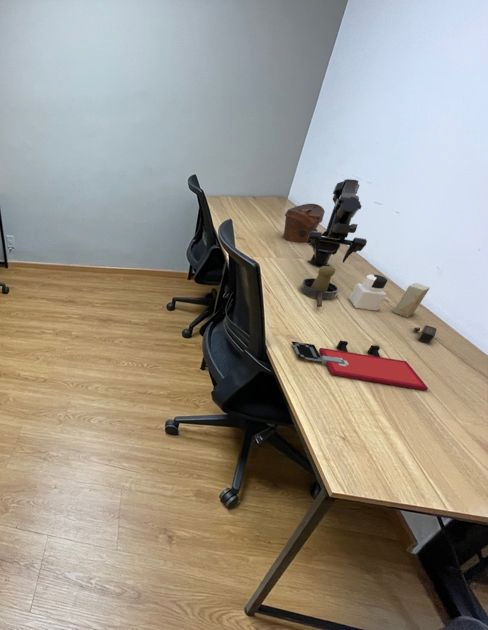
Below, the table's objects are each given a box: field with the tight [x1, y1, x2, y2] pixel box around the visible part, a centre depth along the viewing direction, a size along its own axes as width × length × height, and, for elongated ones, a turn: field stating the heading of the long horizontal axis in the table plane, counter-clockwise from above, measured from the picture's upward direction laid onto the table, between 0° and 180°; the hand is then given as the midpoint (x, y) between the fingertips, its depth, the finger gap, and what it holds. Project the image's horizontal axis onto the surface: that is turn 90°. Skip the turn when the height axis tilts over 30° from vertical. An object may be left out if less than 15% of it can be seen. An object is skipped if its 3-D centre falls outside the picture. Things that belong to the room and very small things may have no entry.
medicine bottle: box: [349, 273, 388, 312], centre depth 126 cm, size 7×7×12 cm
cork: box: [310, 265, 336, 292], centre depth 135 cm, size 6×6×11 cm
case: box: [283, 203, 326, 243], centre depth 186 cm, size 18×20×18 cm
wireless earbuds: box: [413, 324, 438, 344], centre depth 111 cm, size 5×7×3 cm, turn 133°
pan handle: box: [316, 291, 323, 308], centre depth 128 cm, size 12×2×2 cm, turn 147°
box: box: [393, 282, 431, 318], centre depth 121 cm, size 5×4×11 cm
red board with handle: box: [291, 340, 429, 391], centre depth 100 cm, size 30×3×15 cm
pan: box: [299, 277, 340, 301], centre depth 137 cm, size 12×12×4 cm
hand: (329, 259), depth 135 cm, fingers open, 9 cm apart
